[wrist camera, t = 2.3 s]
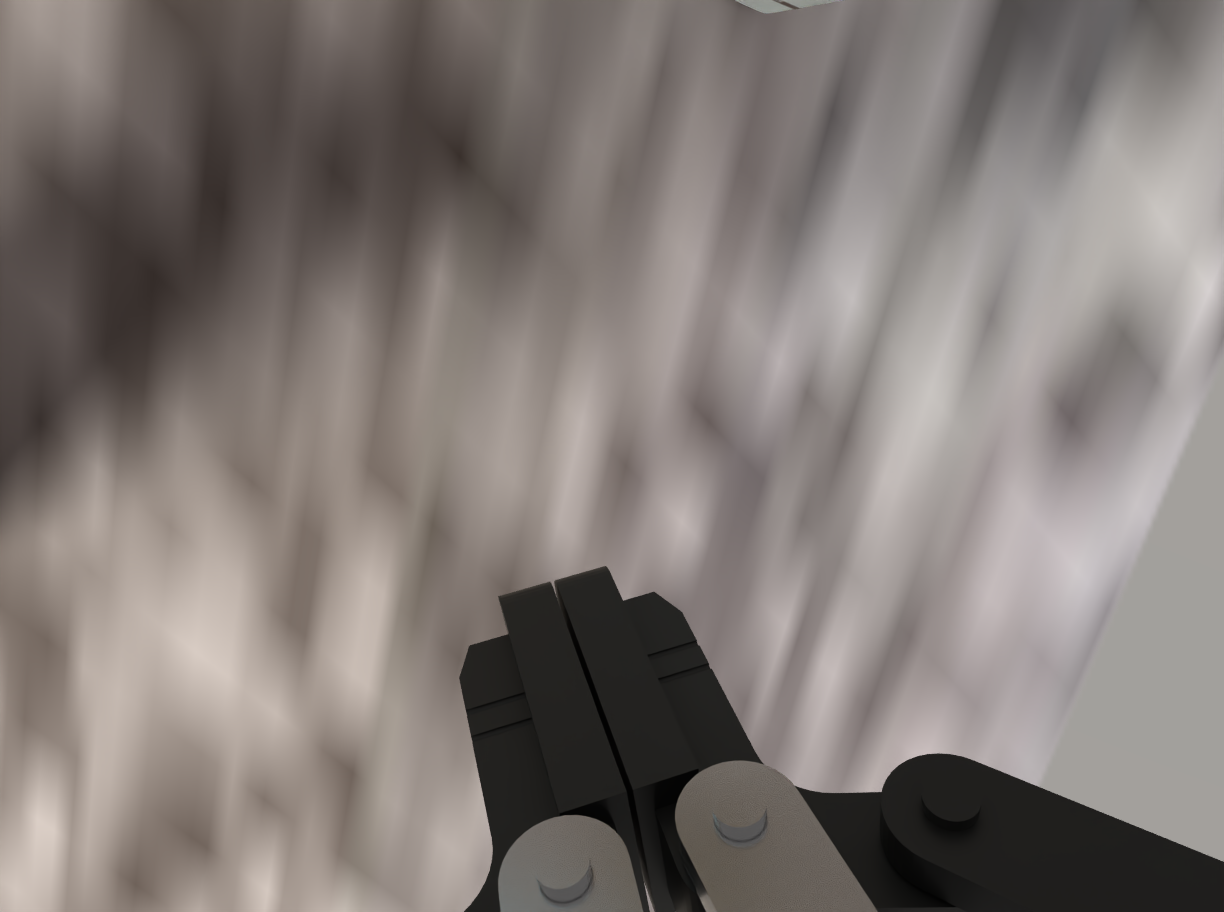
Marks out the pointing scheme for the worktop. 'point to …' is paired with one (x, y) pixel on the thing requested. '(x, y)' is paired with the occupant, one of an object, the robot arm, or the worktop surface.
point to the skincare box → (781, 4)
